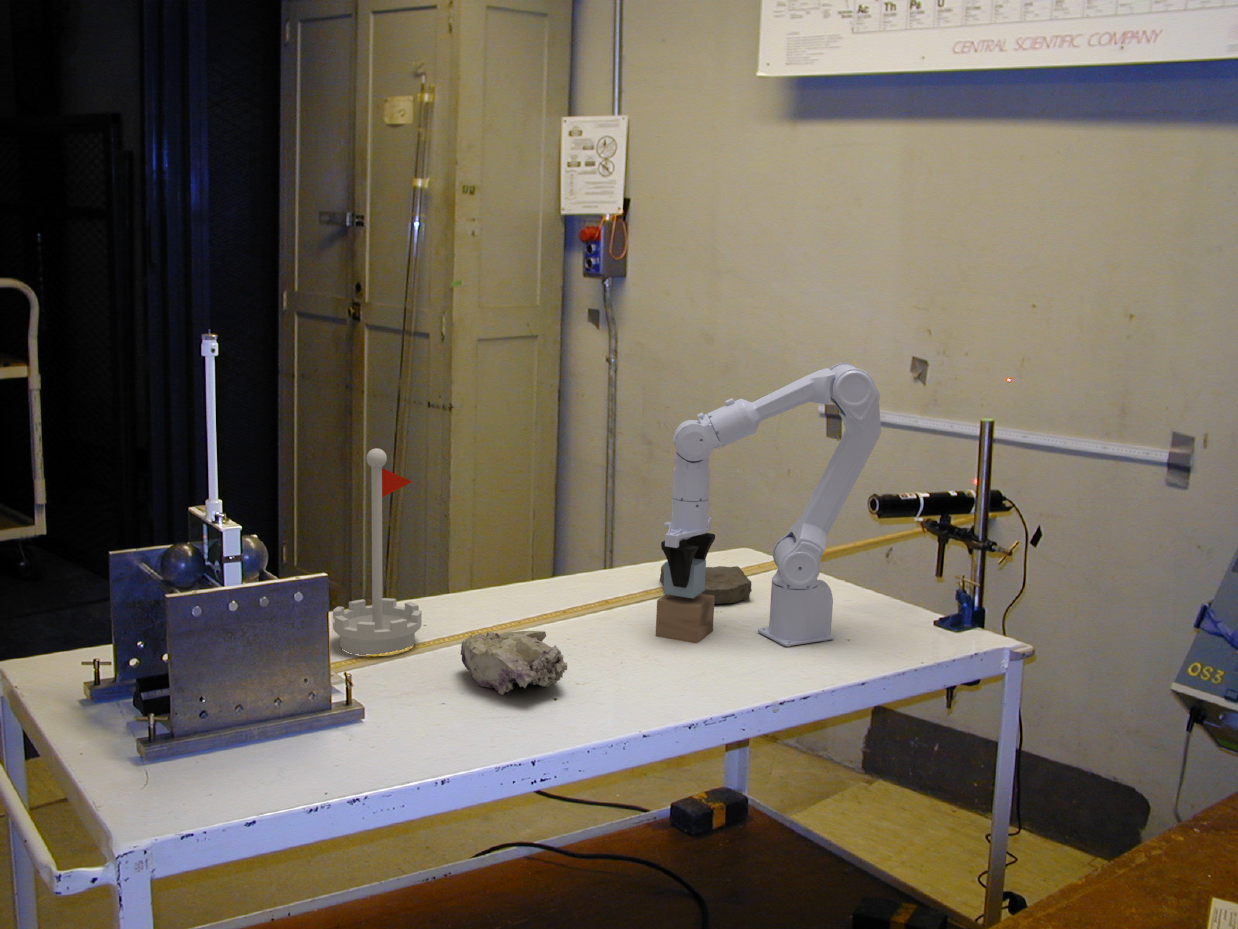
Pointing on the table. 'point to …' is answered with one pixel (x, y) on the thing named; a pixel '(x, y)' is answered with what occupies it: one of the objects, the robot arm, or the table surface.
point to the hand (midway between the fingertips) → (686, 582)
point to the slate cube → (694, 583)
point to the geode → (512, 660)
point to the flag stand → (377, 586)
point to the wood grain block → (685, 617)
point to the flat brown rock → (724, 584)
